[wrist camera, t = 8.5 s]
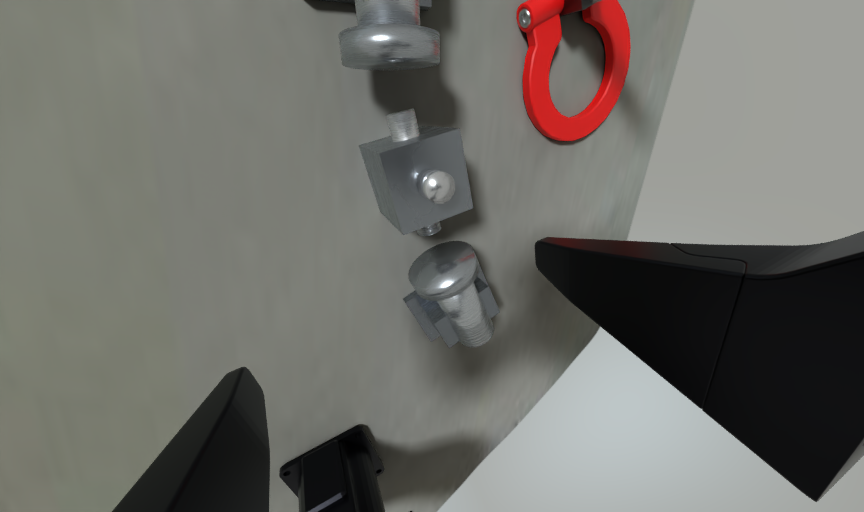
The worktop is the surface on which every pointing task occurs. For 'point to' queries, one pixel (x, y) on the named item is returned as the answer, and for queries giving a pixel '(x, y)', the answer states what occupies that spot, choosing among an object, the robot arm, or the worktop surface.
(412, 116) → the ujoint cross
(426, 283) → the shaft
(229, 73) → the worktop surface
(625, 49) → the tow hook
